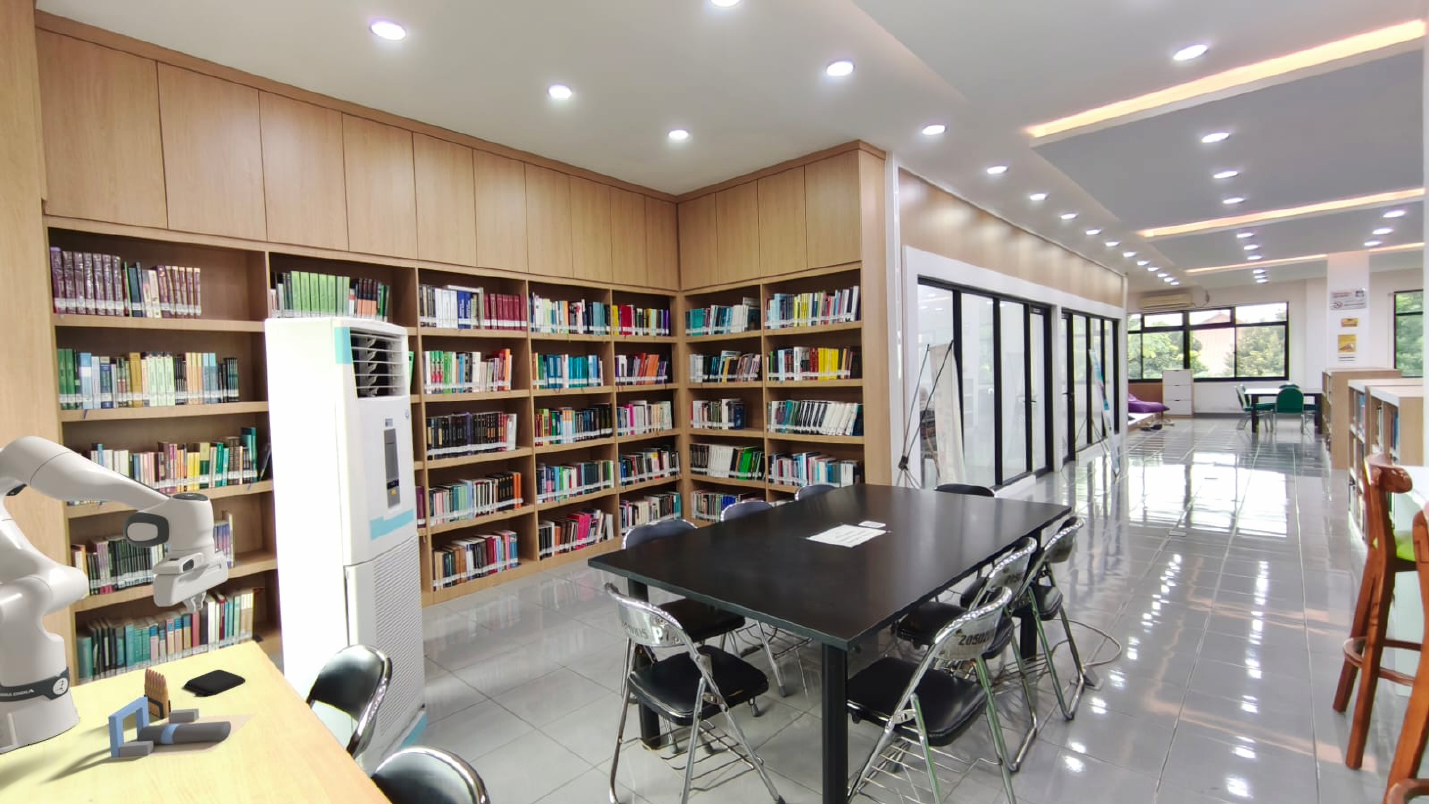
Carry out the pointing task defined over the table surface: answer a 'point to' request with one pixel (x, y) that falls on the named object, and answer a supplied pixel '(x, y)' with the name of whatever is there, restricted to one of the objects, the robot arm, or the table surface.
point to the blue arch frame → (117, 722)
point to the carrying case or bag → (213, 683)
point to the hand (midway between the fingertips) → (194, 611)
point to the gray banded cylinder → (185, 733)
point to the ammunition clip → (157, 694)
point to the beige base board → (183, 717)
